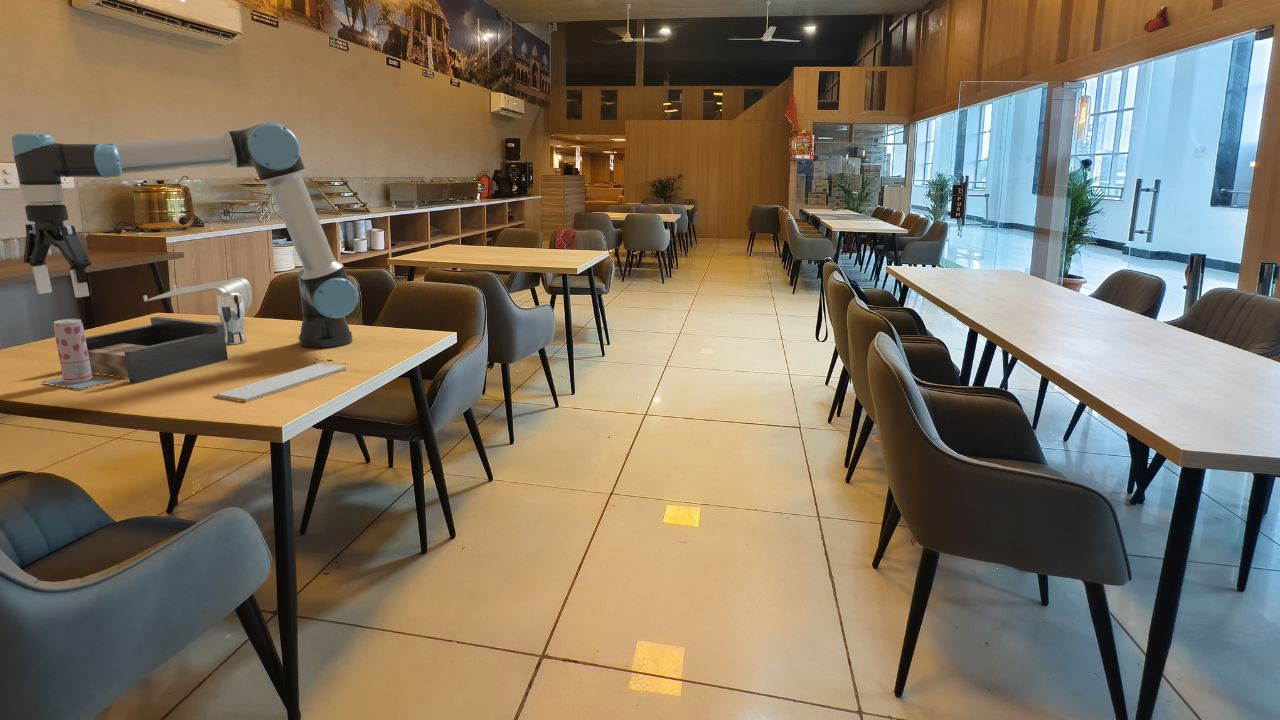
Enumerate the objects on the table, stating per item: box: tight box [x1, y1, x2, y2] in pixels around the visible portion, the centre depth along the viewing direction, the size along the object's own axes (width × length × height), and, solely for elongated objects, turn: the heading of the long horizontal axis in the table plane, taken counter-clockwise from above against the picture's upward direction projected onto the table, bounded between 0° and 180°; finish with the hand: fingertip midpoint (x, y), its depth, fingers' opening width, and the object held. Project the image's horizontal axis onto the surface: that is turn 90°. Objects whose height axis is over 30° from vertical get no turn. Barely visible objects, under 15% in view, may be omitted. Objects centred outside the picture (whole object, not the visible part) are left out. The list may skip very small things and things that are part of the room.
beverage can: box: [53, 318, 94, 384], centre depth 176 cm, size 6×6×15 cm
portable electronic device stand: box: [142, 277, 253, 324], centre depth 237 cm, size 26×24×16 cm
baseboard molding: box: [212, 358, 347, 403], centre depth 181 cm, size 31×3×12 cm
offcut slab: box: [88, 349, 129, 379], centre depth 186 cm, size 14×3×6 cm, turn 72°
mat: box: [41, 375, 115, 389], centre depth 178 cm, size 14×8×1 cm, turn 69°
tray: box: [85, 316, 229, 385], centre depth 193 cm, size 26×26×10 cm
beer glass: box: [216, 292, 247, 345], centre depth 220 cm, size 7×7×15 cm
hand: (63, 294), depth 173 cm, fingers open, 13 cm apart
